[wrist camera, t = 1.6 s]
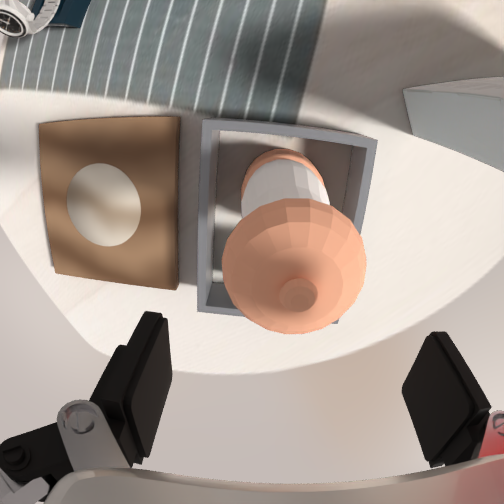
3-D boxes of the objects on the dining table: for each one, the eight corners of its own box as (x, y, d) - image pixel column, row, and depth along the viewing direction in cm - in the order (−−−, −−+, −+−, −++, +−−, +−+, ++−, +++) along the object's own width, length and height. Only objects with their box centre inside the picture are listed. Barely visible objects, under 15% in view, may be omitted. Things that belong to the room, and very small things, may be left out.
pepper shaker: (281, 236, 33) (293, 385, 15) (227, 187, 31) (175, 301, 13) (335, 186, 30) (414, 297, 13) (281, 132, 28) (303, 175, 11)
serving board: (45, 122, 28) (38, 124, 27) (180, 116, 28) (176, 117, 27) (60, 268, 36) (55, 273, 35) (178, 284, 36) (175, 290, 34)
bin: (212, 117, 28) (202, 119, 24) (362, 134, 28) (377, 140, 24) (205, 287, 36) (197, 311, 32) (330, 299, 36) (337, 323, 31)
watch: (38, 42, 24) (-30, 36, 14) (62, -21, 20) (1, -45, 10) (75, 45, 24) (6, 34, 14) (101, -22, 21) (42, -54, 11)
